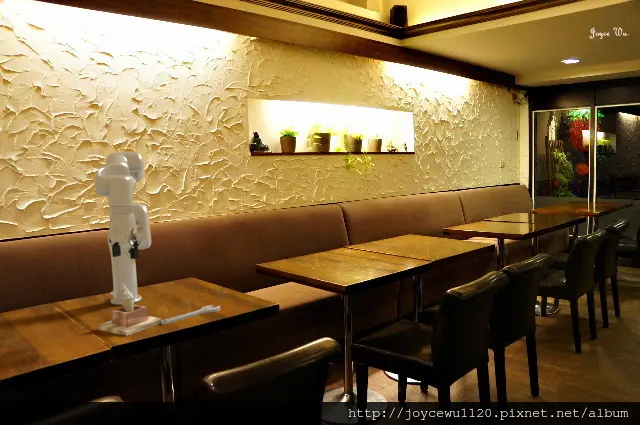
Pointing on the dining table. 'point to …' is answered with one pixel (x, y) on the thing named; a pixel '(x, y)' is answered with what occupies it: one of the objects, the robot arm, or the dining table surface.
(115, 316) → the cone stand
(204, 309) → the adjustable wrench
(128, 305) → the ice cream cone
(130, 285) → the robot arm
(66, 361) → the dining table surface
